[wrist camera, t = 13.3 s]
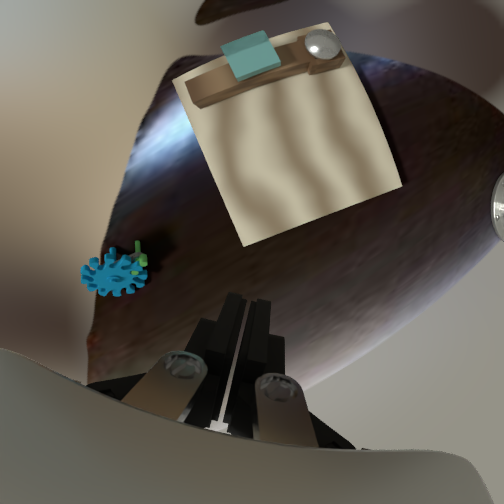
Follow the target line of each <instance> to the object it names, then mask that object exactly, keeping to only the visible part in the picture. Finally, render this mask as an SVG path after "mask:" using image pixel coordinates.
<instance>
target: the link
mask: <svg viewBox="0 0 504 504" xmlns="http://www.w3.org/2000/svg"><path fill="white" fill-rule="evenodd" d="M328 31H330V32H332V31H331V29H330V30H328ZM306 36H307V35H303V36H298V37H297V41H296V42H293V43H289V44H285V45H282V46H278V47H275V48H274V50H275V51H276V53H277V55H278V57H279V59H280V61H281V66H279V67H276V68H273V69H271V70H268V71H265V72H262V73H260V74H257V75H254V76H252V77H249V78H247V79H244V80H242V81H239V82H238V81H237V79H236V77H235V75H234V73H233V71H232V69H231V67H230V65H229V63H228V64H225V65H223V66H220V67H218V68H215V69H213V70H210V71H208V72H206V73H203V74H201V75H199V76H196V77H194V78H192V79H190V80H187V81H185V85H186V87H187V90H188V93H189V95H190V98H191V100H192V103H193V104H194V105H196V106H197V107H198V108H200V109H202V108H205V107H207V106H209V105H212V104H214V103H216V102H219V101H221V100H224V99H226V98H229V97H231V96H234V95H237V94H239V93H242V92H245V91H247V90H250V89H253V88H256V87H258V86H261V85H264V84H267V83H270V82H273V81H276V80H280V79H283V78H286V77H289V76H293V75H296V74H300V73H303V72H308V74H309V75H313V74H316V73H320V72H324V71H328V70H332V69H336V68H340V67H341V65H342V64H343V62H344V60H345V59H346V57H345V55H344V53H343V51H342V49H340V51H339V53H338V55H337V56H336V57H334V58H333V59H329V60H321V59H315V58H314V57H313V56H312V55H310V54H309V53H308V52H307V50H306V48H305V38H306Z"/></svg>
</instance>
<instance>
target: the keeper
mask: <svg viewBox="0 0 504 504" xmlns="http://www.w3.org/2000/svg"><path fill="white" fill-rule="evenodd" d="M221 49H222V51H223V53H224V55H225V57H226V59H227V61H228V63H229V65H230V67H231V69H232V71H233V73H234V75H235V77H236V79H237V81H238V82H239V81H242V80H244V79H247V78H249V77H252V76H254V75H257V74H260V73H262V72H265V71H268V70H271V69H273V68H276V67H279V66H281V61H280V59H279V57H278V55H277V53H276V51H275V50H274V48H273V46H272V44H271V42H270V41H269V39H268V37H267V35H266V34H265V32H264V30H263V31H260V32H257V33H254V34H251V35H248V36H246V37H243V38H241V39H238V40H235V41H233V42H230V43H228V44H225V45H223V46H221Z"/></svg>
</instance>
